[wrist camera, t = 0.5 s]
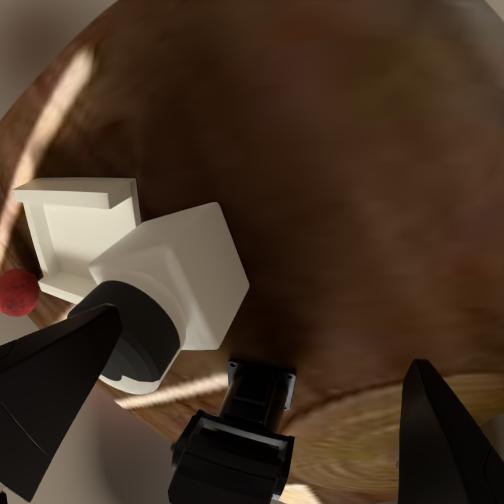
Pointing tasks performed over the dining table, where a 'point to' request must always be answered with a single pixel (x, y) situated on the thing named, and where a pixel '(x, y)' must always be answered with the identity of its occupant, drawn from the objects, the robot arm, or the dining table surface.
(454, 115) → the dining table surface
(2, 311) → the red rounded lump
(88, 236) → the cradle
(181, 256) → the medicine bottle
